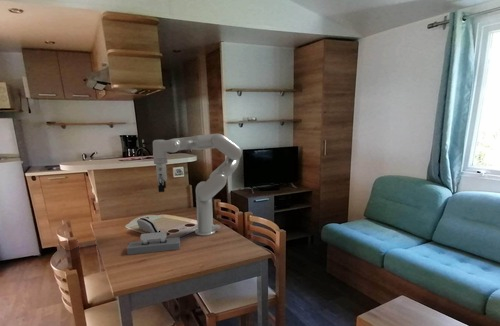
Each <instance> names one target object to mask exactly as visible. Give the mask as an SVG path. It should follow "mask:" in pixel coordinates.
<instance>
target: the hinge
mask: <svg viewBox="0 0 500 326" xmlns="http://www.w3.org/2000/svg"><path fill="white" fill-rule="evenodd" d="M136 223H137V225H138V228H139V230H141V229H143V230H142V231H144V230H145V231H144V232H146V231H148V232H150V233H156V232H159V231H160V232H162V231H161V229H159V228H158V227H157V225H156V223H155V222H154V221H153V220H152V219H150V218H147V217H145V216H143V217H140V218H139V219H137V220H136ZM148 232H147V233H148Z"/></svg>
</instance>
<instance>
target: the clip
mask: <svg viewBox="0 0 500 326" xmlns="http://www.w3.org/2000/svg"><path fill="white" fill-rule="evenodd" d="M167 238H168V231H161V232H156V233H148V232H145V233H141V234H140V241H143V245H148V240H157V239H161V243H165V239H167Z"/></svg>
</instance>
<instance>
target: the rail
mask: <svg viewBox="0 0 500 326" xmlns="http://www.w3.org/2000/svg"><path fill="white" fill-rule="evenodd" d="M180 238H181V237H180V236H179V237H178V236H177V237H170V238H168V237H167V238H165V243H161V239H152V240H148V245H143V240H142V241H141V240H139V241H138V240H137V241H131V242H129V244H128V246H127V247H126V255H127V256H130V255H140V254H149V253H159V252H167V251H168V252H169V251H179V250H180V246H181V239H180Z"/></svg>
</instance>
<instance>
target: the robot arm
mask: <svg viewBox="0 0 500 326" xmlns="http://www.w3.org/2000/svg"><path fill="white" fill-rule="evenodd" d="M209 149H217V150H218V151H219V152H220V153H222V154H224V156H226V158H225V160H224V161H223V162H222V163H221V164H220V165H219V166H217V168H215V170H213V171H211V172H210V174H209V178H208V179H207V180H206V181H200V182H199V183H197V185H196V186H195V202H196V220H197V221H196V229H195V230H194V232H195V235H198V236H202V237H203V236H211V235H213V234H215V233H216V230H217V229H221V227H222V226H221V224H220V225H219V224H214V221H213V220H214V219H213V218H214V217H213V197H215V196H216V195H217V194H218V193H219V192H220V191H221V190H222V189H224V187H225V186H226V184H227V181H228V180H227V179H228V178H229V177H230V176H231V175H232V174H233V173H234V172H235V171H236V170H237V168H238V166H239V164H240V159H241V157H242V154H243V150H242V149H241V147H239V146H238V145H237V144H235V143H234V142H233V141H231V140H230V139H229V138H228V137H227V136H225V135H223V134H221V133H211V134H210V133H209V134H200V135H193V136H188V137H177V138H175V137H174V138H171V139H167V140H166V139H154V140H153V141H152V153H153V154H152V155H153V165H155V166H156V167H155V168H156V169H155V170H156V180H157V182H158V183H157V184H158V185H157V191H158V193H164V192H165V189H166V188H167V185H166V181H167V179H168V174H167V164H168V153H176V152H178V151H187V150H193V151H194V150H195V151H201V150H202V151H203V150H209Z"/></svg>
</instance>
